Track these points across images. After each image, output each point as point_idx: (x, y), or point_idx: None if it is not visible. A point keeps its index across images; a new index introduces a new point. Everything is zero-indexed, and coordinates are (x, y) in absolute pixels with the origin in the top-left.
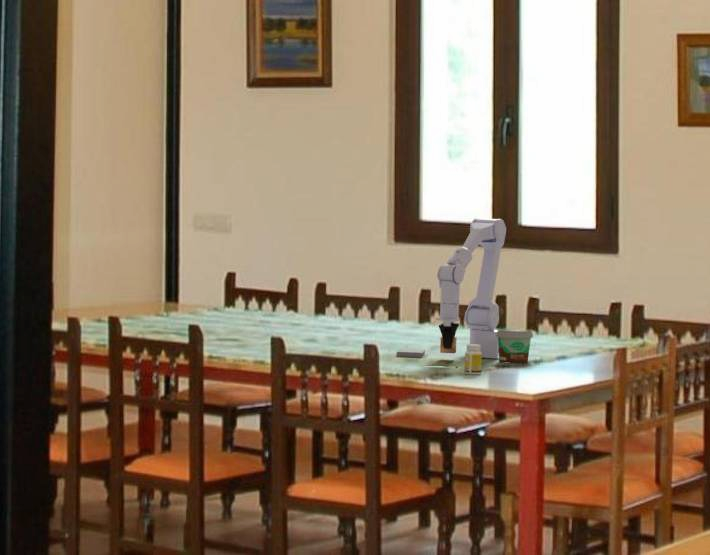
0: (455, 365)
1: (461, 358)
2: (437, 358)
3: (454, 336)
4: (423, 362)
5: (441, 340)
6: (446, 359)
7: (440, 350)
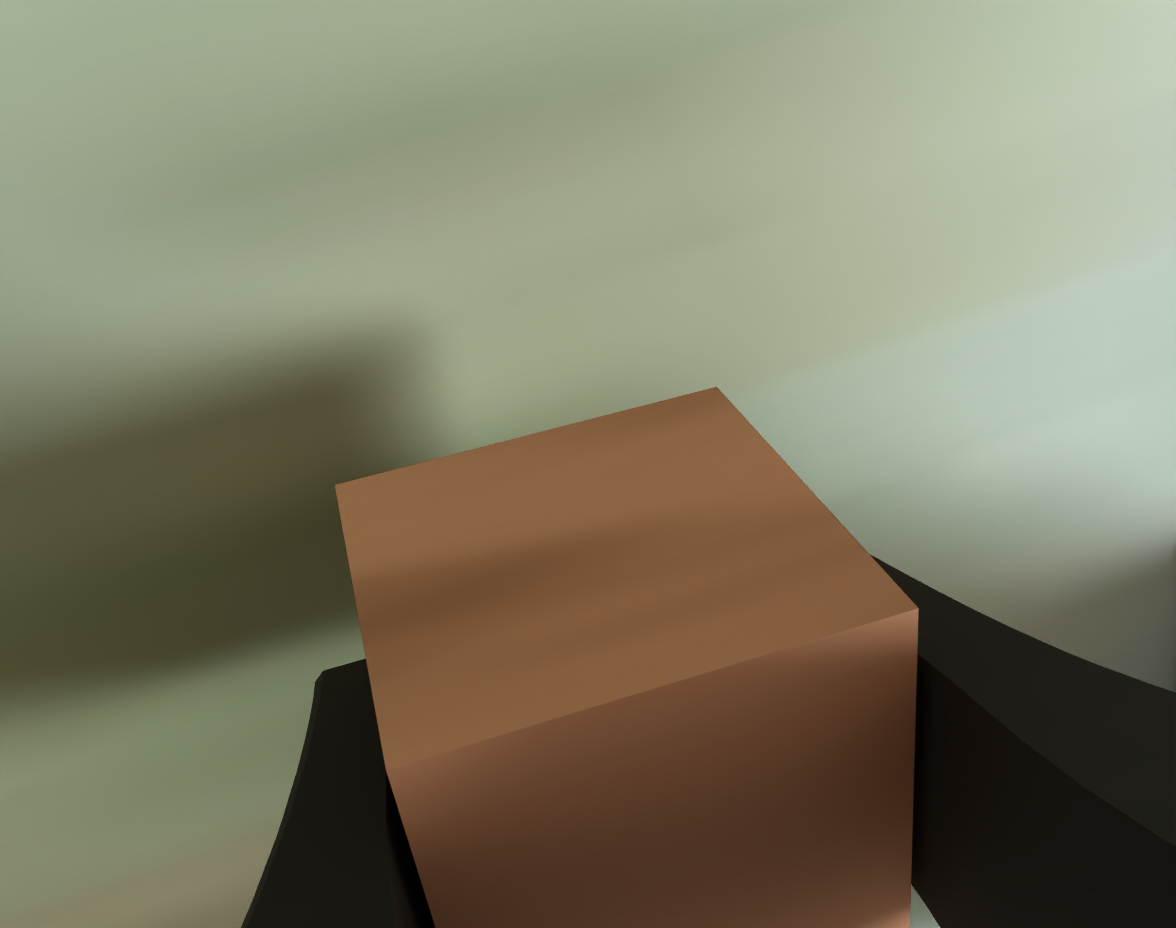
0: (72, 763)
1: (1116, 480)
2: (993, 98)
3: (934, 917)
4: (58, 5)
5: (382, 736)
6: (899, 314)
7: (346, 522)
